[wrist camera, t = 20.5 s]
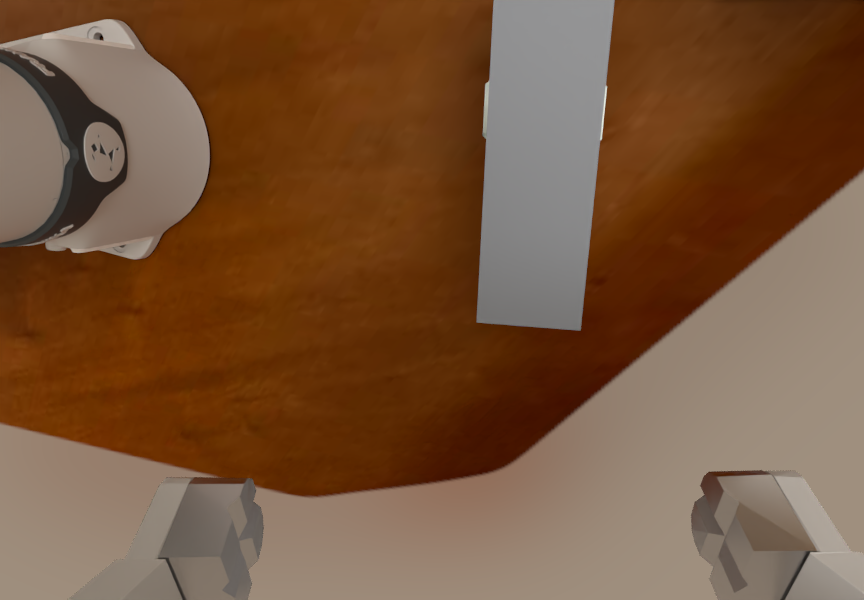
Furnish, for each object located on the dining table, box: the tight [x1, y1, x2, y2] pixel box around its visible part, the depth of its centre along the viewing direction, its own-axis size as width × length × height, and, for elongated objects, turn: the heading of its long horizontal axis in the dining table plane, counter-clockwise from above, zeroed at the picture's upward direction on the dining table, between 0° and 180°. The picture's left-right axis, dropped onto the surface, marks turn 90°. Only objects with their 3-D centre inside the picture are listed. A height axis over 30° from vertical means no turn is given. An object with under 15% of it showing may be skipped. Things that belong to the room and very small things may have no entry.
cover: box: [477, 0, 614, 331], centre depth 28 cm, size 5×20×2 cm, turn 178°
